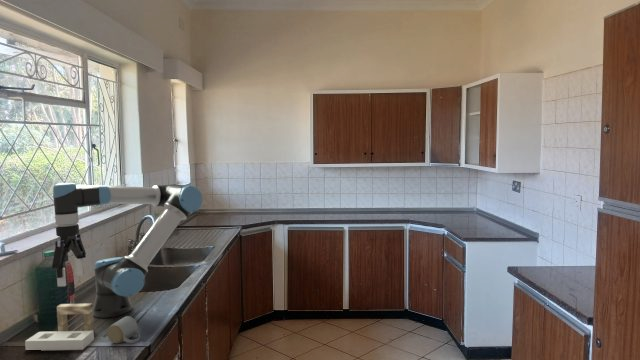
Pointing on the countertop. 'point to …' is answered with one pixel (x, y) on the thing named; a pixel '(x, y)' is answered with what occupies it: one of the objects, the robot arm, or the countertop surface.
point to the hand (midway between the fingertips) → (71, 280)
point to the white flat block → (60, 340)
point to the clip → (75, 309)
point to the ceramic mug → (123, 330)
